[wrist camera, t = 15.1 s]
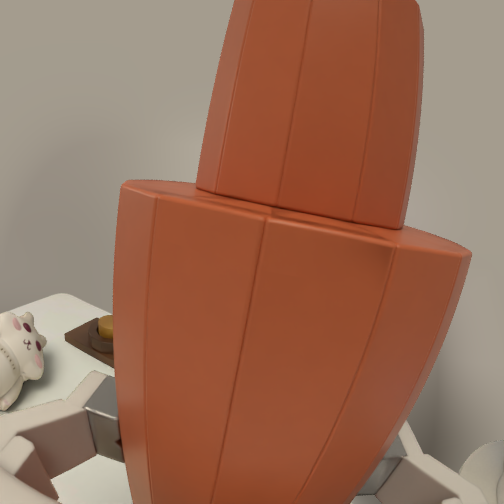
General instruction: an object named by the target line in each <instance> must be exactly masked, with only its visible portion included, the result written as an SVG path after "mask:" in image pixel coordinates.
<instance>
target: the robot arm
mask: <svg viewBox="0 0 504 504" xmlns="http://www.w3.org/2000/svg"><path fill="white" fill-rule="evenodd" d="M96 454H99V455H102V456H104V457H107V458H110V459H113V460H116V461H119V462H122V463H125V459H124V453H123V446H122V440H121V432H120V424H119V416H118V406H117V396H116V384H115V377H112V376H108V375H106V374H103V373H100V372H98V371H95V370H94V371H91V372H90V373H89V374H88V375H87V376H86V377H85V378H84V379H83V381H82V382H81V383H80V384H79V385H78V386H77V387H76V389H75V390H74V391H73V392H72V393H71V394H70V396H69V397H68V398H67V399H66V400H62V399H59V400H55V401H52V402H48V403H45V404H41V405H37V406H34V407H30V408H26V409H22V410H19V411H15V412H11V413H7V414H2V415H0V504H62V503H60V502H58V501H57V500H58V498H59V496H58V494H57V491H56V490H55V488H54V486H53V484H52V482H51V480H50V479H52V478H54V477H56V476H58V475H60V474H62V473H64V472H66V471H68V470H70V469H72V468H74V467H76V466H77V465H79V464H81V463H83V462H85V461H87V460H89V459H90V458H92V457H94V456H96ZM357 495H375V496H376V498H377V499H378V500H379V501H380V502H381V503H382V504H489V502H488V500H487V498H486V497H485V495H484V493H483V491H482V489H481V488H480V487H478V486H477V485H475V484H473V483H472V482H470V481H468V480H467V479H465V478H464V477H462V476H460V475H459V474H457V473H456V472H454V471H453V470H451V469H449V468H448V467H446V466H445V465H443V464H442V463H440V462H439V461H437V460H435V459H434V458H432V457H431V456H430V455H428V454H425V455H424V454H423V453H422V450H421V448H420V446H419V444H418V442H417V440H416V438H415V436H414V434H413V432H412V430H411V428H410V426H409V424H408V422H407V421H405V423H404V424H403V426H402V428H401V429H400V431H399V433H398V435H397V436H396V438H395V440H394V441H393V443H392V444H391V446H390V448H389V449H388V451H387V452H386V454H385V455H384V457H383V458H382V460H381V461H380V463H379V464H378V466H377V467H376V469H375V470H374V472H373V473H372V475H371V476H370V477H369V479H368V480H367V482H366V483H365V484H364V486H363V487H362V488H361V490H360V491H359V492H358V494H357ZM357 495H356V496H357ZM497 501H498V504H504V462H503V474H502V476H501V478H500V479H499V482H498V485H497Z"/></svg>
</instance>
